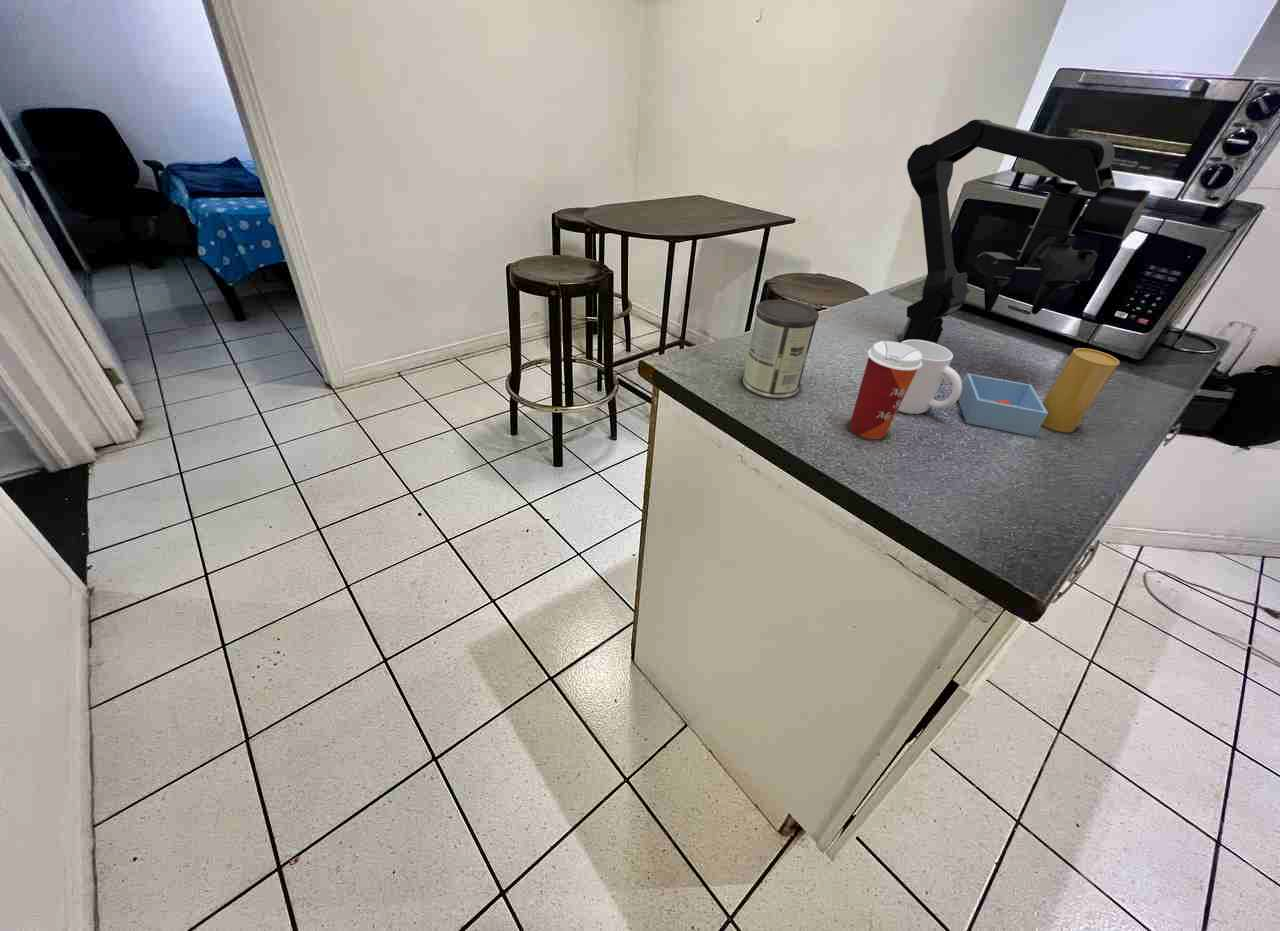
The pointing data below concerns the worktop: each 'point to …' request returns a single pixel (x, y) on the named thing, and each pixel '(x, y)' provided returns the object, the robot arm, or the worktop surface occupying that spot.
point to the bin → (988, 413)
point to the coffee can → (779, 347)
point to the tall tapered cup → (1077, 388)
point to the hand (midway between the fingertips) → (1010, 312)
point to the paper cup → (883, 387)
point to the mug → (930, 379)
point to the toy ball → (1004, 402)
